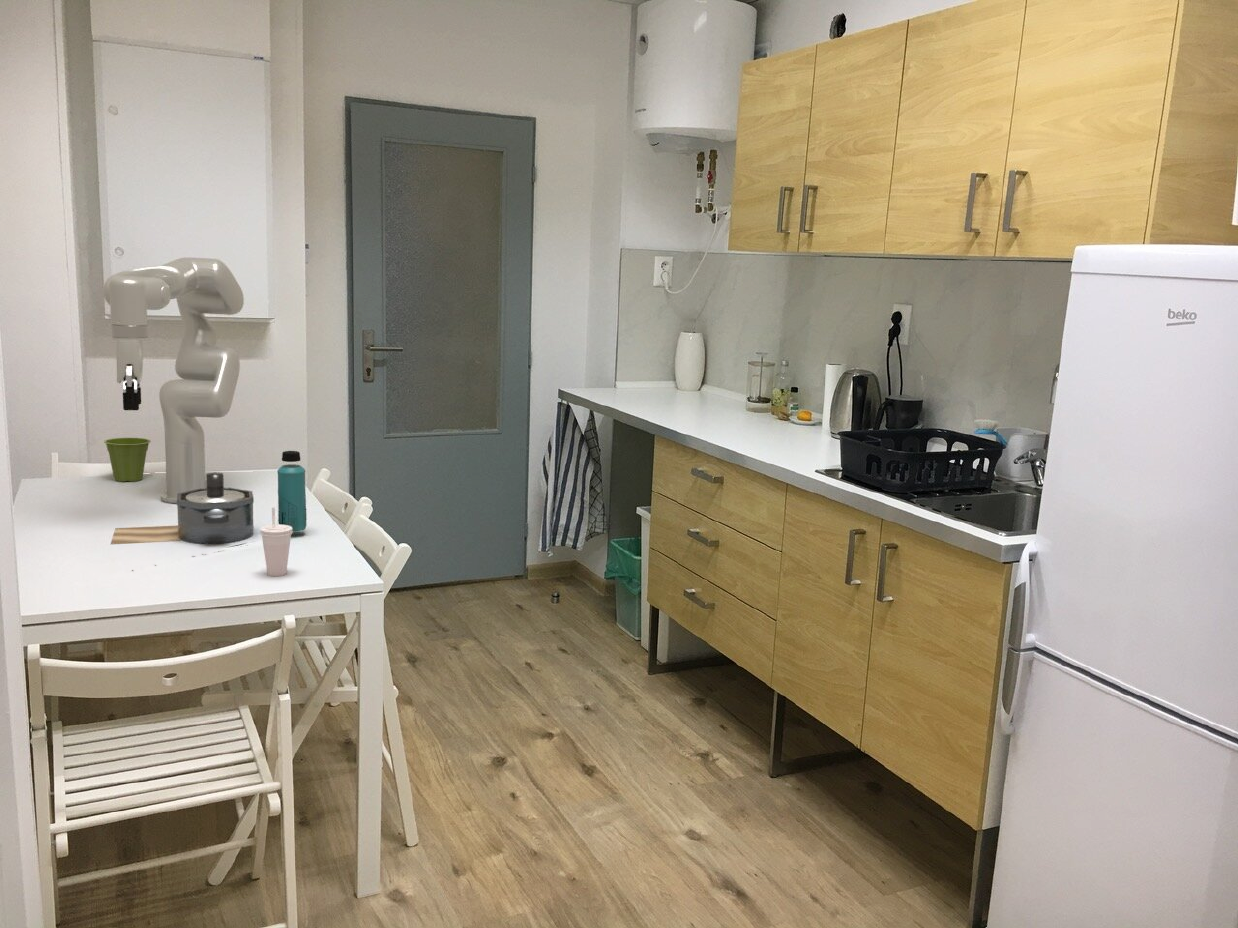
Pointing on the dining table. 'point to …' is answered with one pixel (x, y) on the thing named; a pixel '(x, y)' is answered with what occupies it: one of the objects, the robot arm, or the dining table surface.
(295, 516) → the beverage bottle
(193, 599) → the dining table surface
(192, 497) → the lid
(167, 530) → the plate
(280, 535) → the smoothie
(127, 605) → the dining table surface
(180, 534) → the stockpot
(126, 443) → the plant pot
